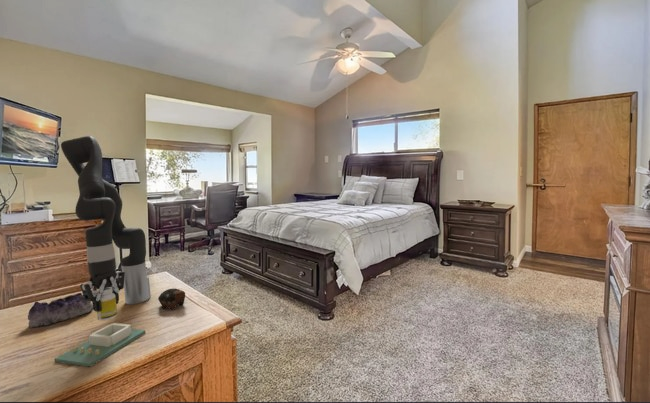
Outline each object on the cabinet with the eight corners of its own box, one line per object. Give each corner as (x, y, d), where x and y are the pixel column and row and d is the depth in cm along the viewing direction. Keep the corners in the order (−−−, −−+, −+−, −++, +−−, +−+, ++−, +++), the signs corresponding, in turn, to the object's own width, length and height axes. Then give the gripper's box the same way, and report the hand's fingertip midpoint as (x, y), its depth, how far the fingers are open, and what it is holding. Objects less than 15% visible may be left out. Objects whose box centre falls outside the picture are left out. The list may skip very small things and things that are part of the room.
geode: (33, 333, 115) (27, 307, 115) (26, 329, 122) (21, 304, 122) (97, 310, 131) (92, 287, 131) (88, 308, 138) (83, 286, 138)
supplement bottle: (121, 314, 107) (118, 286, 106) (105, 321, 102) (102, 292, 101) (110, 313, 109) (107, 285, 108) (94, 320, 103) (90, 291, 103)
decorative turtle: (178, 313, 126) (175, 294, 125) (151, 312, 131) (147, 294, 130) (195, 302, 135) (192, 285, 134) (169, 301, 140) (166, 284, 139)
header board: (114, 329, 115) (113, 319, 114) (145, 332, 111) (144, 322, 110) (55, 361, 95) (53, 349, 95) (89, 367, 92) (88, 354, 91)
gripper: (112, 252, 111) (117, 298, 113) (70, 263, 98) (76, 316, 99) (129, 253, 109) (134, 299, 111) (88, 264, 95) (94, 318, 97)
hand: (106, 307), depth 105 cm, fingers closed on supplement bottle, 5 cm apart
